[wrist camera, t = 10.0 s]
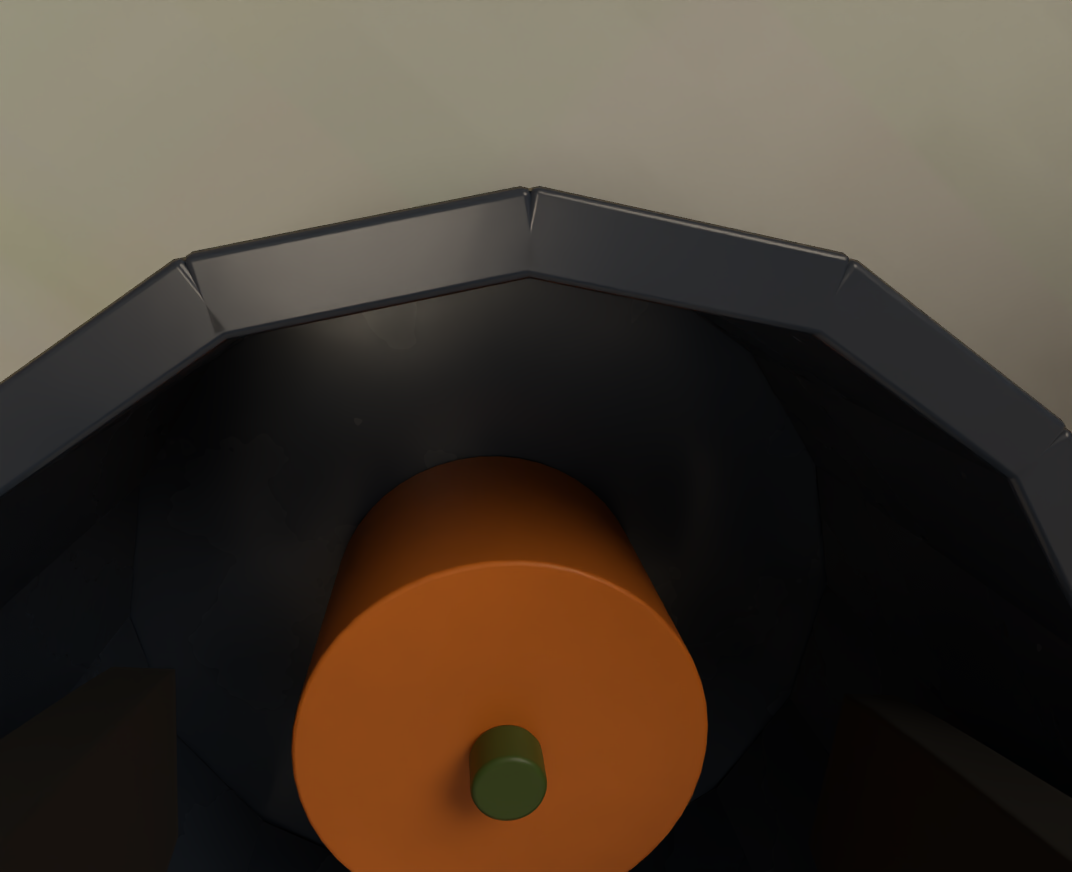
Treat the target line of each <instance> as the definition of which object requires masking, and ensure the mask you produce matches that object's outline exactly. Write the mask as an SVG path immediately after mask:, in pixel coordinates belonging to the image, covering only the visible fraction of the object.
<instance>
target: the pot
mask: <svg viewBox="0 0 1072 872" xmlns="http://www.w3.org/2000/svg"><path fill="white" fill-rule="evenodd" d="M491 456H501V457H511V458H520V459H524V460H529V461H533V462H537V463H541V464H543V465H546V466H549V467H552V468H554V469H557V470H559V471H561V472H563V473H565V474H567V475H569V476H570V477H572V478H574V479H576V480H577V481H579V482H580V483H582V484H583V485H584V486H586V487H587V488H589V489H590V490H591V491H592V492H593V493H594V494H596V495H597V496H598V497H599V498H600V499H601V500H602V501H603V502H604V503H605V504H606V505H607V507H608V508H609V509H610V510H611V512H612V513H613V514H614V515H615V517H616V518H617V520H618V521H619V523H620V525H621V527H622V528H623V530H624V532H625V533H626V535H627V537H628V539H629V541H630V543H631V545H632V547H633V548H634V550H635V552H636V554H637V556H638V558H639V560H640V561H641V563H642V565H643V567H644V569H645V571H646V573H647V575H648V576H649V578H650V580H651V582H652V584H653V586H654V588H655V590H656V591H657V593H658V595H659V597H660V599H661V601H662V603H663V604H664V606H665V608H666V610H667V612H668V614H669V616H670V618H671V619H672V621H673V623H674V625H675V627H676V629H677V631H678V632H679V634H680V636H681V638H682V640H683V642H684V644H685V646H686V647H687V649H688V651H689V653H690V655H691V657H692V659H693V661H694V664H695V666H696V669H697V671H698V674H699V676H700V679H701V682H702V686H703V690H704V695H705V699H706V705H707V719H708V732H707V745H706V752H705V757H704V761H703V766H702V770H701V774H700V777H699V779H698V782H697V784H696V787H695V790H694V792H693V795H692V797H691V799H690V800H689V802H688V804H687V806H686V808H685V810H684V812H683V813H682V815H681V817H680V818H679V819H678V821H677V822H676V824H675V825H674V826H673V828H672V829H671V831H670V832H669V833H668V835H667V836H666V837H665V838H664V839H663V840H662V841H661V842H660V843H659V844H658V846H657V847H656V848H655V849H654V850H653V851H652V852H651V853H650V854H649V855H648V856H646V857H645V858H644V859H643V860H642V861H641V862H639V863H638V864H637V865H636V866H635V867H634V868H632V869H631V870H629V871H628V872H818V869H817V867H816V864H815V861H814V858H813V855H812V853H811V850H810V847H809V844H808V842H809V838H810V834H811V830H812V826H813V822H814V818H815V813H816V809H817V805H818V801H819V797H820V793H821V789H822V785H823V780H824V776H825V772H826V768H827V764H828V760H829V756H830V752H831V747H832V743H833V739H834V735H835V731H836V727H837V723H838V719H839V715H840V710H841V706H842V702H843V698H844V694H868V695H895V696H897V697H900V698H902V699H904V700H906V701H908V702H910V703H912V704H914V705H916V706H918V707H920V708H921V709H923V710H925V711H927V712H929V713H931V714H932V715H934V716H936V717H938V718H940V719H941V720H943V721H945V722H947V723H948V724H950V725H952V726H953V727H955V728H957V729H958V730H960V731H962V732H964V733H965V734H967V735H969V736H970V737H972V738H974V739H975V740H977V741H979V742H980V743H982V744H984V745H985V746H987V747H989V748H990V749H992V750H994V751H995V752H997V753H998V754H1000V755H1002V756H1003V757H1005V758H1007V759H1008V760H1010V761H1012V762H1013V763H1015V764H1016V765H1018V766H1020V767H1021V768H1023V769H1025V770H1026V771H1028V772H1030V773H1031V774H1033V775H1035V776H1036V777H1038V778H1039V779H1041V780H1043V781H1044V782H1046V783H1048V784H1049V785H1051V786H1053V787H1054V788H1056V789H1057V790H1059V791H1061V792H1062V793H1064V794H1066V795H1067V796H1069V797H1071V798H1072V433H1071V432H1070V431H1069V430H1068V429H1066V428H1065V425H1064V423H1063V422H1062V420H1061V419H1060V418H1059V417H1057V416H1056V415H1055V414H1053V413H1052V412H1051V411H1050V410H1048V409H1047V408H1046V407H1044V406H1043V405H1042V404H1041V403H1039V402H1038V401H1037V400H1036V399H1034V398H1033V397H1032V396H1030V395H1029V394H1028V393H1027V392H1025V391H1024V390H1023V389H1021V388H1020V387H1019V386H1018V385H1016V384H1015V383H1014V382H1012V381H1011V380H1010V379H1009V378H1007V377H1006V376H1005V375H1004V374H1002V373H1001V372H1000V371H998V370H997V369H996V368H995V367H993V366H992V365H991V364H989V363H988V362H987V361H986V360H984V359H983V358H982V357H981V356H979V355H978V354H977V353H975V352H974V351H973V350H972V349H970V348H969V347H968V346H966V345H965V344H964V343H963V342H961V341H960V340H959V339H957V338H956V337H955V336H954V335H952V334H951V333H950V332H949V331H947V330H946V329H945V328H943V327H942V326H941V325H940V324H938V323H937V322H936V321H934V320H933V319H932V318H931V317H929V316H928V315H927V314H926V313H924V312H923V311H922V310H920V309H919V308H918V307H917V306H915V305H914V304H913V303H911V302H910V301H909V300H908V299H906V298H905V297H904V296H902V295H901V294H900V293H899V292H897V291H896V290H895V289H894V288H892V287H891V286H890V285H888V284H887V283H886V282H885V281H883V280H882V279H881V278H879V277H878V276H877V275H876V274H874V273H873V272H872V271H870V270H869V269H868V268H867V267H865V266H864V265H863V264H862V263H860V262H859V261H858V260H854V259H849V257H848V256H846V255H845V254H844V253H842V252H837V251H833V250H828V249H824V248H819V247H815V246H810V245H806V244H801V243H797V242H792V241H787V240H783V239H778V238H774V237H769V236H765V235H760V234H756V233H751V232H746V231H742V230H737V229H733V228H728V227H724V226H719V225H715V224H710V223H705V222H701V221H696V220H692V219H687V218H683V217H678V216H674V215H669V214H664V213H660V212H655V211H651V210H646V209H642V208H637V207H633V206H628V205H623V204H619V203H614V202H610V201H605V200H601V199H596V198H592V197H587V196H583V195H578V194H573V193H569V192H564V191H560V190H555V189H551V188H546V187H542V186H538V187H533V188H526V187H521V186H518V187H513V188H508V189H503V190H498V191H493V192H488V193H483V194H478V195H473V196H468V197H463V198H458V199H453V200H448V201H443V202H438V203H433V204H428V205H423V206H418V207H413V208H408V209H403V210H398V211H393V212H388V213H383V214H378V215H373V216H368V217H363V218H358V219H353V220H348V221H343V222H338V223H333V224H328V225H323V226H318V227H313V228H308V229H303V230H298V231H293V232H288V233H283V234H278V235H273V236H268V237H263V238H258V239H253V240H248V241H243V242H238V243H233V244H228V245H223V246H218V247H213V248H208V249H203V250H198V251H193V252H191V253H190V254H188V255H187V256H186V257H183V258H178V259H173V260H172V261H171V262H169V263H168V264H166V265H165V266H164V267H162V268H161V269H159V270H158V271H156V272H155V273H154V274H152V275H151V276H149V277H148V278H147V279H145V280H144V281H142V282H141V283H140V284H138V285H137V286H135V287H134V288H133V289H131V290H130V291H128V292H127V293H126V294H124V295H123V296H121V297H120V298H118V299H117V300H116V301H114V302H113V303H111V304H110V305H109V306H107V307H106V308H104V309H103V310H102V311H100V312H99V313H97V314H96V315H95V316H93V317H92V318H90V319H89V320H88V321H86V322H85V323H83V324H82V325H81V326H79V327H78V328H76V329H75V330H73V331H72V332H71V333H69V334H68V335H66V336H65V337H64V338H62V339H61V340H59V341H58V342H57V343H55V344H54V345H52V346H51V347H50V348H48V349H47V350H45V351H44V352H43V353H41V354H40V355H38V356H37V357H36V358H34V359H33V360H31V361H30V362H28V363H27V364H26V365H24V366H23V367H21V368H20V369H19V370H17V371H16V372H14V373H13V374H12V375H10V376H9V377H7V378H6V379H5V380H3V381H2V382H0V739H2V738H3V737H5V736H6V735H8V734H9V733H11V732H12V731H14V730H15V729H17V728H18V727H20V726H21V725H23V724H24V723H26V722H27V721H29V720H30V719H32V718H33V717H35V716H36V715H38V714H39V713H41V712H42V711H44V710H45V709H47V708H48V707H50V706H51V705H53V704H54V703H56V702H57V701H59V700H60V699H62V698H63V697H65V696H66V695H68V694H69V693H71V692H72V691H74V690H75V689H77V688H78V687H80V686H81V685H83V684H85V683H86V682H88V681H89V680H91V679H93V678H94V677H96V676H97V675H99V674H101V673H102V672H104V671H106V670H108V669H109V668H111V667H131V668H158V669H175V681H176V738H177V795H178V838H177V842H176V845H175V848H174V851H173V854H172V857H171V860H170V863H169V866H168V869H167V872H351V871H350V870H348V869H347V868H346V867H345V866H344V865H343V864H342V863H341V862H339V861H338V860H337V859H336V858H335V856H334V855H333V854H332V853H331V852H330V851H329V849H328V848H327V847H326V846H325V845H324V843H323V842H322V841H321V840H320V838H319V836H318V835H317V833H316V832H315V830H314V828H313V827H312V825H311V824H310V822H309V820H308V818H307V815H306V813H305V811H304V808H303V806H302V804H301V801H300V799H299V795H298V792H297V788H296V784H295V780H294V776H293V767H292V756H291V744H292V728H293V723H294V718H295V714H296V710H297V705H298V701H299V698H300V695H301V691H302V688H303V685H304V682H305V678H306V675H307V672H308V668H309V665H310V662H311V659H312V655H313V652H314V649H315V645H316V642H317V639H318V636H319V632H320V629H321V626H322V622H323V619H324V616H325V613H326V609H327V606H328V603H329V599H330V596H331V593H332V590H333V586H334V583H335V580H336V576H337V573H338V570H339V567H340V563H341V560H342V558H343V555H344V552H345V550H346V547H347V545H348V543H349V541H350V539H351V537H352V535H353V534H354V532H355V530H356V528H357V526H358V525H359V524H360V523H361V521H362V520H363V519H364V517H365V516H366V515H367V513H368V512H369V511H370V510H371V509H372V508H373V507H374V506H375V505H376V504H377V503H378V502H379V501H380V500H381V499H382V498H383V497H384V496H385V495H386V494H388V493H389V492H390V491H392V490H393V489H394V488H395V487H397V486H398V485H399V484H401V483H403V482H404V481H406V480H408V479H410V478H411V477H413V476H415V475H416V474H418V473H421V472H423V471H425V470H428V469H430V468H433V467H435V466H437V465H441V464H445V463H448V462H452V461H455V460H460V459H467V458H473V457H491Z"/></svg>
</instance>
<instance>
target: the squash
mask: <svg viewBox="0 0 1072 872" xmlns="http://www.w3.org/2000/svg"><path fill="white" fill-rule="evenodd" d="M707 732H708V719H707V705H706V699H705V695H704V690H703V686H702V682H701V679H700V676H699V674H698V671H697V669H696V666H695V664H694V661H693V659H692V657H691V655H690V653H689V651H688V649H687V647H686V646H685V644H684V642H683V640H682V638H681V636H680V634H679V632H678V631H677V629H676V627H675V625H674V623H673V621H672V619H671V618H670V616H669V614H668V612H667V610H666V608H665V606H664V604H663V603H662V601H661V599H660V597H659V595H658V593H657V591H656V590H655V588H654V586H653V584H652V582H651V580H650V578H649V576H648V575H647V573H646V571H645V569H644V567H643V565H642V563H641V561H640V560H639V558H638V556H637V554H636V552H635V550H634V548H633V547H632V545H631V543H630V541H629V539H628V537H627V535H626V533H625V532H624V530H623V528H622V527H621V525H620V523H619V521H618V520H617V518H616V517H615V515H614V514H613V513H612V512H611V510H610V509H609V508H608V507H607V505H606V504H605V503H604V502H603V501H602V500H601V499H600V498H599V497H598V496H597V495H596V494H594V493H593V492H592V491H591V490H590V489H589V488H587V487H586V486H584V485H583V484H582V483H580V482H579V481H577V480H576V479H574V478H572V477H570V476H569V475H567V474H565V473H563V472H561V471H559V470H557V469H554V468H552V467H549V466H546V465H543V464H541V463H537V462H533V461H529V460H524V459H520V458H511V457H501V456H491V457H473V458H467V459H460V460H455V461H452V462H448V463H445V464H441V465H437V466H435V467H433V468H430V469H428V470H425V471H423V472H421V473H418V474H416V475H415V476H413V477H411V478H410V479H408V480H406V481H404V482H403V483H401V484H399V485H398V486H397V487H395V488H394V489H393V490H392V491H390V492H389V493H388V494H386V495H385V496H384V497H383V498H382V499H381V500H380V501H379V502H378V503H377V504H376V505H375V506H374V507H373V508H372V509H371V510H370V511H369V512H368V513H367V515H366V516H365V517H364V519H363V520H362V521H361V523H360V524H359V525H358V526H357V528H356V530H355V532H354V534H353V535H352V537H351V539H350V541H349V543H348V545H347V547H346V550H345V552H344V555H343V558H342V560H341V563H340V567H339V570H338V573H337V576H336V580H335V583H334V586H333V590H332V593H331V596H330V599H329V603H328V606H327V609H326V613H325V616H324V619H323V622H322V626H321V629H320V632H319V636H318V639H317V642H316V645H315V649H314V652H313V655H312V659H311V662H310V665H309V668H308V672H307V675H306V678H305V682H304V685H303V688H302V691H301V695H300V698H299V701H298V705H297V710H296V714H295V718H294V723H293V728H292V744H291V756H292V767H293V776H294V780H295V784H296V788H297V792H298V795H299V799H300V801H301V804H302V806H303V808H304V811H305V813H306V815H307V818H308V820H309V822H310V824H311V825H312V827H313V828H314V830H315V832H316V833H317V835H318V836H319V838H320V840H321V841H322V842H323V843H324V845H325V846H326V847H327V848H328V849H329V851H330V852H331V853H332V854H333V855H334V856H335V858H336V859H337V860H338V861H339V862H341V863H342V864H343V865H344V866H345V867H346V868H347V869H348V870H350V871H351V872H628V871H629V870H631V869H632V868H634V867H635V866H636V865H637V864H638V863H639V862H641V861H642V860H643V859H644V858H645V857H646V856H648V855H649V854H650V853H651V852H652V851H653V850H654V849H655V848H656V847H657V846H658V844H659V843H660V842H661V841H662V840H663V839H664V838H665V837H666V836H667V835H668V833H669V832H670V831H671V829H672V828H673V826H674V825H675V824H676V822H677V821H678V819H679V818H680V817H681V815H682V813H683V812H684V810H685V808H686V806H687V804H688V802H689V800H690V799H691V797H692V795H693V792H694V790H695V787H696V784H697V782H698V779H699V777H700V774H701V770H702V766H703V761H704V757H705V752H706V745H707Z"/></svg>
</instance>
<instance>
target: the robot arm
mask: <svg viewBox="0 0 1072 872" xmlns="http://www.w3.org/2000/svg"><path fill="white" fill-rule="evenodd" d="M177 838H178V795H177V738H176V681H175V669H158V668H131V667H111V668H109V669H108V670H106V671H104V672H102V673H101V674H99V675H97V676H96V677H94V678H93V679H91V680H89V681H88V682H86V683H85V684H83V685H81V686H80V687H78V688H77V689H75V690H74V691H72V692H71V693H69V694H68V695H66V696H65V697H63V698H62V699H60V700H59V701H57V702H56V703H54V704H53V705H51V706H50V707H48V708H47V709H45V710H44V711H42V712H41V713H39V714H38V715H36V716H35V717H33V718H32V719H30V720H29V721H27V722H26V723H24V724H23V725H21V726H20V727H18V728H17V729H15V730H14V731H12V732H11V733H9V734H8V735H6V736H5V737H3V738H2V739H0V872H167V869H168V866H169V863H170V860H171V857H172V854H173V851H174V848H175V845H176V842H177ZM808 844H809V847H810V850H811V853H812V855H813V858H814V861H815V864H816V867H817V869H818V872H1072V798H1071V797H1069V796H1067V795H1066V794H1064V793H1062V792H1061V791H1059V790H1057V789H1056V788H1054V787H1053V786H1051V785H1049V784H1048V783H1046V782H1044V781H1043V780H1041V779H1039V778H1038V777H1036V776H1035V775H1033V774H1031V773H1030V772H1028V771H1026V770H1025V769H1023V768H1021V767H1020V766H1018V765H1016V764H1015V763H1013V762H1012V761H1010V760H1008V759H1007V758H1005V757H1003V756H1002V755H1000V754H998V753H997V752H995V751H994V750H992V749H990V748H989V747H987V746H985V745H984V744H982V743H980V742H979V741H977V740H975V739H974V738H972V737H970V736H969V735H967V734H965V733H964V732H962V731H960V730H958V729H957V728H955V727H953V726H952V725H950V724H948V723H947V722H945V721H943V720H941V719H940V718H938V717H936V716H934V715H932V714H931V713H929V712H927V711H925V710H923V709H921V708H920V707H918V706H916V705H914V704H912V703H910V702H908V701H906V700H904V699H902V698H900V697H897V696H895V695H868V694H844V698H843V702H842V706H841V710H840V715H839V719H838V723H837V727H836V731H835V735H834V739H833V743H832V747H831V752H830V756H829V760H828V764H827V768H826V772H825V776H824V780H823V785H822V789H821V793H820V797H819V801H818V805H817V809H816V813H815V818H814V822H813V826H812V830H811V834H810V838H809V842H808Z"/></svg>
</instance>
